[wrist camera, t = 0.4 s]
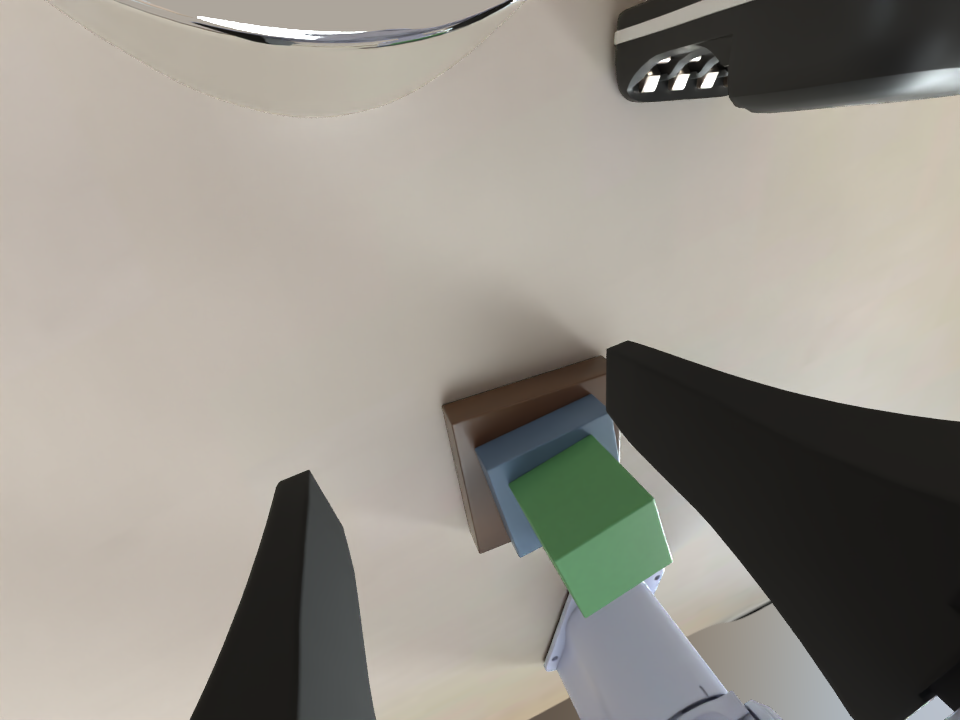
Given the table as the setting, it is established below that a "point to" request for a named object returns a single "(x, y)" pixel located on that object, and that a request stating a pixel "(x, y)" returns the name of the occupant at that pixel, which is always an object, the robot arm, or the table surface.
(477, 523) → the base slab
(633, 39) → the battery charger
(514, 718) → the table surface
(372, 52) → the beer glass
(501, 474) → the middle block
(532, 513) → the green cube
